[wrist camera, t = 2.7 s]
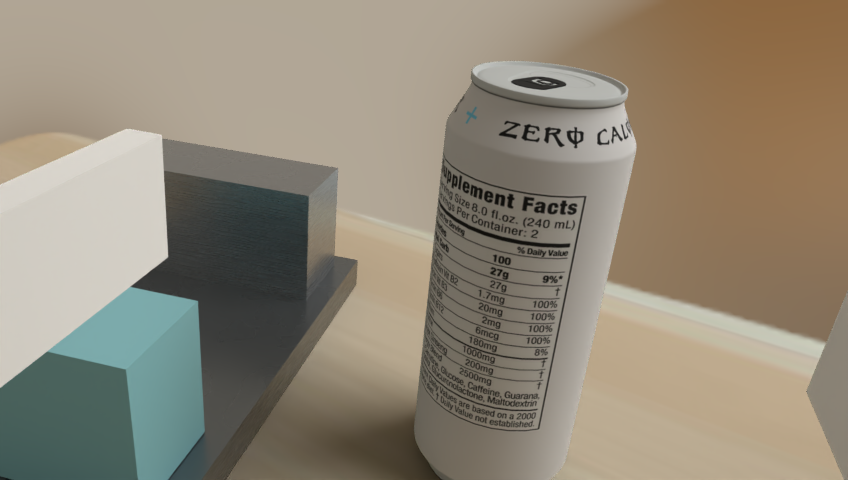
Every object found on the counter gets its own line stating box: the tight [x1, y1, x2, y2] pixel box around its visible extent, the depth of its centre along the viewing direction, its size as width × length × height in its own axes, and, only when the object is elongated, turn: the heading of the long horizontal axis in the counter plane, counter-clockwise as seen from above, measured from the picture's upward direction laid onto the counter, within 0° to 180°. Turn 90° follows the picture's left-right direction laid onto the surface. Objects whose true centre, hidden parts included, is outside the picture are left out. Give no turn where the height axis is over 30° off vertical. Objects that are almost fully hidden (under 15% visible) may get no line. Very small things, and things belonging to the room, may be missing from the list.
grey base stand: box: [0, 139, 358, 480], centre depth 30 cm, size 12×22×7 cm, turn 167°
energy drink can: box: [414, 61, 636, 480], centre depth 25 cm, size 6×6×15 cm
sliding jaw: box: [0, 287, 205, 480], centre depth 24 cm, size 10×4×6 cm, turn 77°
